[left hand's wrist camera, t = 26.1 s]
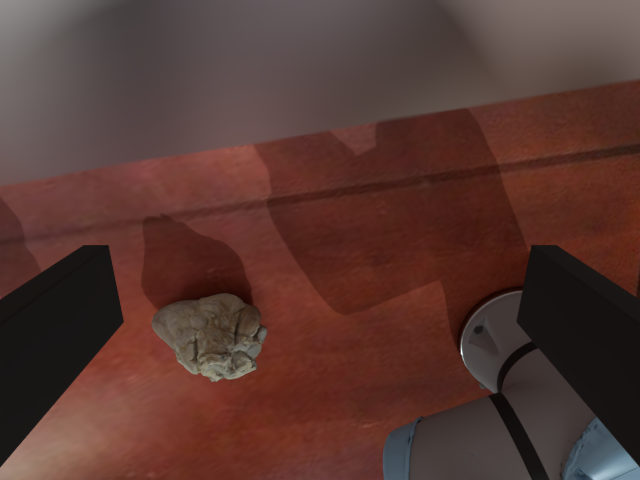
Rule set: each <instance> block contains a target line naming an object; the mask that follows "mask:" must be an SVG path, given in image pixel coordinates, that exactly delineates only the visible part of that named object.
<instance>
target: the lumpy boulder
mask: <svg viewBox="0 0 640 480" xmlns="http://www.w3.org/2000/svg"><path fill="white" fill-rule="evenodd" d="M260 319H261V313H260V311H259V310H258V308H257V307H256V306H254V305H252V306H251V305H248V304H246V303H243V300H241V299H240V298H238V297H237V296H235V295H232V294H228V293H222V294H217V295H213V296H209V297H205V298H200V300H183V301H178V302H175V303H172V304H169V305H167V306H165V307H163V308H161V309H160V310H159V311H158V312H157V313H156V314H155V315H154V317H153V319H152V327H153V329H154V331H155V333H156V334H157V335H158V336H159V337H160V338H161V339H162V340H163V341H165V342H166V343H167V344H168V345H169V346H170V347H171V348H172V349H173V350H174V352H175V353H176V359H177V360H178V362H179V363H181V364H182V365H184V367H185V368H186V369H187V370H189V371H190V372H191V373H192V374H198V373H199V372H200V373H202V375H204V376H208V377H209V379H210V380H211V381H212V382H213V381H218V380H219V379H222V378H226V379H234V378H238V377H241V376H243V375H244V374H246V373H249V372H250V371H253V370H256V365H257V364H256V361H255V357H256V356H257V355H258V353H259V352H260V351H261V343H263V342H264V340H265V336H266V334H267V328H266V327H264V326H263V325H261V324H260Z"/></svg>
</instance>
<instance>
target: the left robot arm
mask: <svg viewBox="0 0 640 480" xmlns="http://www.w3.org/2000/svg"><path fill="white" fill-rule="evenodd" d="M123 322H124V321H123V316H122V311H121V306H120V301H119V296H118V291H117V286H116V281H115V276H114V271H113V266H112V261H111V256H110V251H109V246H108V245H83V246H82V247H80V248H79V249H77V250H76V251H74V252H73V253H71V254H69V255H68V256H66V257H65V258H63V259H62V260H60V261H59V262H57V263H56V264H54V265H53V266H51V267H49V268H48V269H46V270H45V271H43V272H42V273H40V274H39V275H37V276H36V277H34V278H33V279H31V280H30V281H28V282H26V283H25V284H23V285H22V286H20V287H19V288H17V289H16V290H14V291H13V292H11V293H10V294H8V295H7V296H5V297H3V298H2V299H0V467H1V466H2V465H3V464H4V462H5V461H6V460H7V459H8V458H9V456H10V455H11V454H12V453H13V452H14V451H15V449H16V448H17V447H18V446H19V445H20V444H21V442H22V441H23V440H24V439H25V438H26V436H27V435H28V434H29V433H30V432H31V431H32V429H33V428H34V427H35V426H36V425H37V424H38V422H39V421H40V420H41V419H42V418H43V416H44V415H45V414H46V413H47V412H48V411H49V409H50V408H51V407H52V406H53V405H54V404H55V402H56V401H57V400H58V399H59V398H60V396H61V395H62V394H63V393H64V392H65V391H66V389H67V388H68V387H69V386H70V385H71V384H72V382H73V381H74V380H75V379H76V378H77V376H78V375H79V374H80V373H81V372H82V371H83V369H84V368H85V367H86V366H87V365H88V364H89V362H90V361H91V360H92V359H93V358H94V356H95V355H96V354H97V353H98V352H99V351H100V349H101V348H102V347H103V346H104V345H105V344H106V342H107V341H108V340H109V339H110V338H111V336H112V335H113V334H114V333H115V332H116V331H117V329H118V328H119V327H120V326H121V325H122V324H123ZM458 348H459V353H460V355H461V358H462V360H463V362H464V363H465V365H466V367H467V369H468V370H469V371H470V372H471V374H472V375H473V376H474V377H475V378H476V379H477V380H478V381H480V382H481V383H479V385H480V387H481V389H485V388H488V389H490V390H491V391H492V392H493V393H495V394H492V395H489V396H486V397H483V398H480V399H477V400H474V401H471V402H468V403H465V404H462V405H459V406H456V407H453V408H450V409H447V410H444V411H441V412H438V413H435V414H432V415H429V416H426V417H419V418H417V419H416V420H415V421H414V422H412V423H409V424H407V425H404V426H402V427H399V428H397V429H395V430H393V431H392V432H391V433H390V434H389V435H388V437H387V439H386V443H385V446H384V451H383V471H384V480H640V299H638V298H637V297H635V296H633V295H632V294H630V293H629V292H627V291H626V290H624V289H623V288H621V287H620V286H618V285H617V284H615V283H614V282H612V281H610V280H609V279H607V278H606V277H604V276H603V275H601V274H600V273H598V272H597V271H595V270H594V269H592V268H591V267H589V266H587V265H586V264H584V263H583V262H581V261H580V260H578V259H577V258H575V257H574V256H572V255H571V254H569V253H567V252H566V251H564V250H563V249H561V248H560V247H558V246H557V245H532V246H531V251H530V256H529V261H528V266H527V271H526V276H525V281H524V286H523V287H516V288H510V289H506V290H502V291H499V292H497V293H494V294H492V295H490V296H489V297H487V298H485V299H484V300H482V301H481V302H480V303H478V304H477V305H476V306H475V307H474V308H473V309H472V310H471V311H470V312H469V314H468V315H467V316H466V318H465V320H464V321H463V323H462V326H461V328H460V331H459V336H458Z"/></svg>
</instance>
